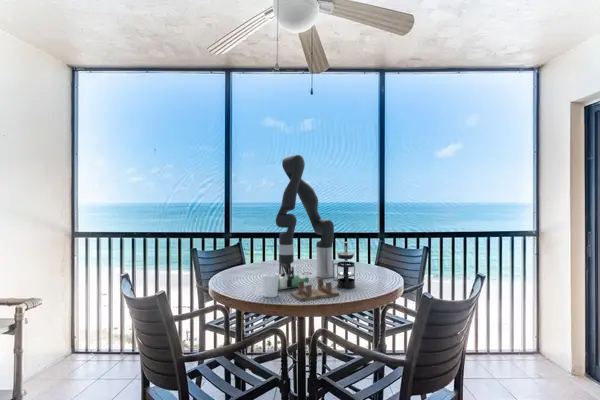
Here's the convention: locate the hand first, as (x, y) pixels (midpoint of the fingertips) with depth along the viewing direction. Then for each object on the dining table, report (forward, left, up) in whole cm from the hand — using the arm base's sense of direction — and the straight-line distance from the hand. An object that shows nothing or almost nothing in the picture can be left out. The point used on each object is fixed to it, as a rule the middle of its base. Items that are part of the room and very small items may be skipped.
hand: (286, 285), depth 167 cm
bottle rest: (-8, +17, -2) cm, 19 cm away
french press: (-29, +10, -2) cm, 30 cm away
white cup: (+11, +9, -2) cm, 14 cm away
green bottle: (-2, -1, -1) cm, 3 cm away
